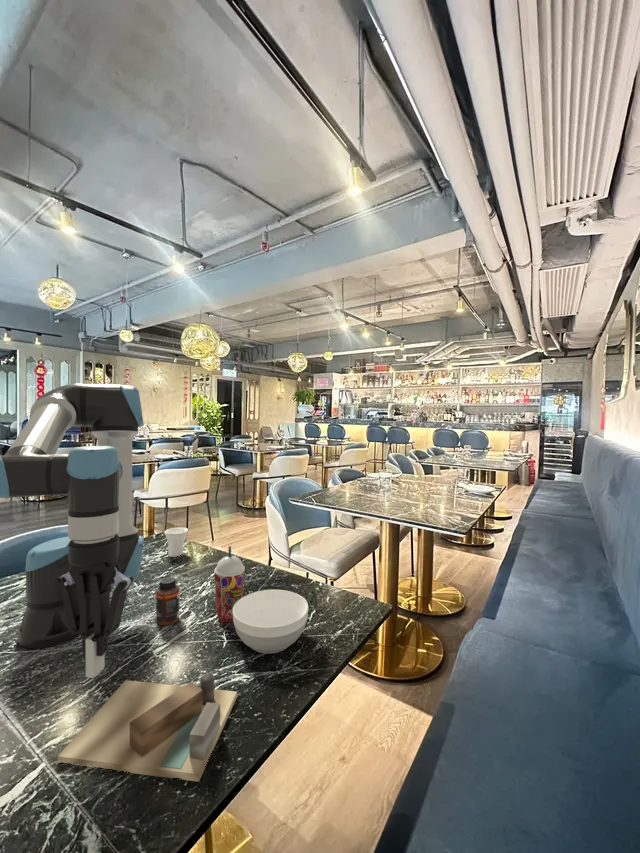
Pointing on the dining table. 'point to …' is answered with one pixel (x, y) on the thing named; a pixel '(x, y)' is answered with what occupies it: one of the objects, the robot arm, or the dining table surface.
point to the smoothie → (228, 585)
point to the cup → (176, 540)
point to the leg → (165, 718)
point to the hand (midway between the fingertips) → (95, 672)
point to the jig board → (173, 756)
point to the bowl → (270, 619)
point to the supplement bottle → (167, 602)
